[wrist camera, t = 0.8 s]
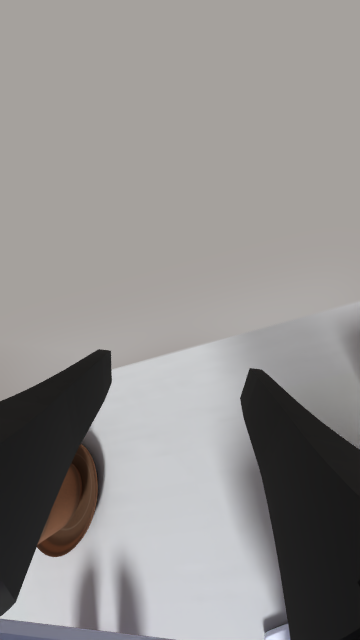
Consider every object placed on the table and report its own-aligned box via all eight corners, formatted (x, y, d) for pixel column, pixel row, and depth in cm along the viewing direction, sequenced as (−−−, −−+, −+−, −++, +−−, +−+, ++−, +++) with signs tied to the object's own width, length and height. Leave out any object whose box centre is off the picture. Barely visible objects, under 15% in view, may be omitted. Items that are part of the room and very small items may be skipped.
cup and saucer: (41, 450, 31) (-5, 461, 26) (100, 426, 29) (63, 432, 24) (38, 554, 26) (-20, 595, 21) (112, 536, 23) (67, 575, 18)
